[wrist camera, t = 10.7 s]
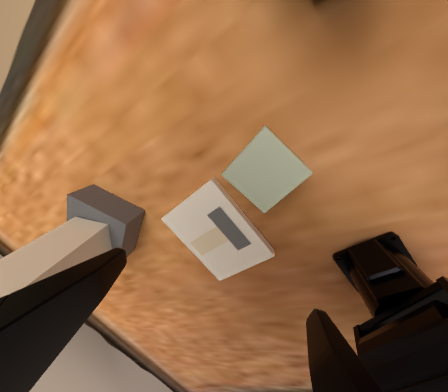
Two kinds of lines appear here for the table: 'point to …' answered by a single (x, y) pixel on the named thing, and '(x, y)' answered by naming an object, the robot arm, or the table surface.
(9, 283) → the cream block
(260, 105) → the table surface
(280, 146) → the sage cube
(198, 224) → the tile
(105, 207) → the charcoal slab
